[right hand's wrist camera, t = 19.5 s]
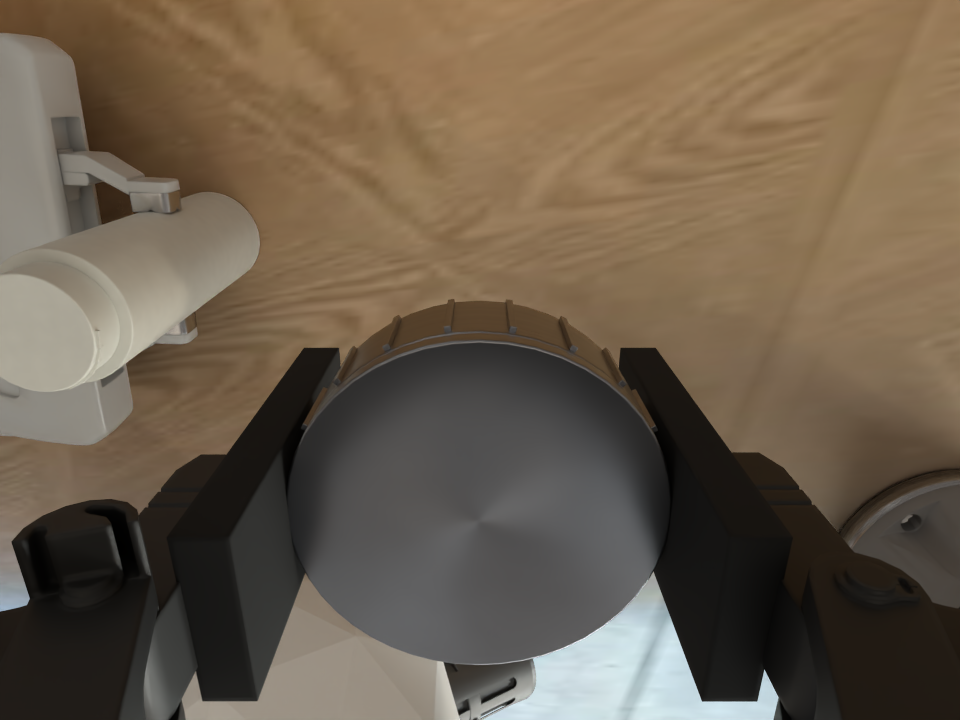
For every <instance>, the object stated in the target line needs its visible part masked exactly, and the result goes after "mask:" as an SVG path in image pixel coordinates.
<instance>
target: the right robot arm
mask: <svg viewBox="0 0 960 720" xmlns="http://www.w3.org/2000/svg"><path fill="white" fill-rule="evenodd" d="M340 368H341V366H340V354H339V348H304V349H303V350H302V351H301V353H300V354H299V356H298V357H297V358H296V360H295V361H294V362H293V364H292V365H291V367H290V368H289V369H288V371H287V372H286V373H285V375H284V376H283V378H282V379H281V380H280V382H279V383H278V385H277V386H276V387H275V389H274V390H273V391H272V393H271V394H270V396H269V397H268V398H267V400H266V401H265V402H264V404H263V405H262V407H261V408H260V409H259V411H258V412H257V413H256V415H255V416H254V418H253V419H252V420H251V422H250V423H249V424H248V426H247V427H246V429H245V430H244V431H243V433H242V434H241V435H240V437H239V438H238V440H237V441H236V442H235V444H234V445H233V446H232V448H231V449H230V451H229V452H228V453H227V455H200V456H198V457H197V458H195V459H193V460H192V461H190V462H189V463H187V464H185V465H184V466H182V467H181V468H179V469H177V470H176V471H175V472H174V474H173V475H172V476H171V477H170V478H169V480H168V481H167V482H166V483H165V484H164V486H163V487H162V488H161V492H158V493H157V494H156V495H155V496H154V498H153V499H152V500H151V501H150V502H149V506H148V508H144V510H143V511H142V512H141V513H140V514H139V516H138V512H137V509H135V508H134V507H133V506H132V505H130V504H129V503H128V502H123V501H118V500H113V499H105V500H89V501H85V502H81V503H77V504H73V505H69V506H65V507H63V508H60V509H58V510H56V511H53V512H51V513H48V514H46V515H44V516H42V517H40V518H39V519H37V520H36V521H34V522H32V523H31V524H29V525H28V526H26V527H25V528H23V530H22V531H21V532H20V533H19V534H18V535H17V536H16V537H15V538H14V540H13V541H12V545H13V548H14V551H15V554H16V557H17V560H18V563H19V566H20V569H21V572H22V575H23V578H24V582H25V585H26V588H27V591H28V594H29V597H30V600H29V602H28V604H27V605H26V606H23V607H19V608H15V609H11V610H6V611H1V612H0V720H186V718H185V712H184V707H183V703H182V697H183V695H184V693H185V691H186V690H187V688H188V686H189V684H190V682H191V680H192V678H193V676H194V674H195V672H196V675H197V679H198V684H199V688H200V693H201V697H202V701H258V699H259V696H260V693H261V691H262V688H263V685H264V683H265V680H266V677H267V675H268V672H269V669H270V666H271V664H272V661H273V658H274V656H275V653H276V650H277V648H278V645H279V642H280V640H281V637H282V634H283V632H284V629H285V626H286V624H287V621H288V618H289V616H290V613H291V610H292V608H293V605H294V602H295V599H296V597H297V594H298V591H299V589H300V586H301V583H302V581H303V578H304V575H305V571H304V569H303V567H302V566H301V564H300V562H299V560H298V557H297V554H296V552H295V549H294V546H293V543H292V537H291V530H290V523H289V515H288V507H287V498H286V492H287V483H288V475H289V471H290V468H291V464H292V461H293V457H294V454H295V451H296V449H297V447H298V445H299V443H300V440H301V438H302V436H303V434H304V432H305V430H302V429H301V427H302V425H303V423H304V421H305V419H306V418H307V416H308V414H309V412H310V410H311V409H312V407H313V405H314V403H315V401H316V400H317V398H318V396H319V394H320V392H321V391H322V389H323V387H325V388H327V389H328V387H329V385H330V384H331V382H332V380H333V379H334V377H335V376H336V374H337V373H338V371H339V369H340ZM619 370H620V372H621V374H622V376H623V377H624V379H625V380H626V382H627V384H628V385H629V387H630V389H631V391H632V390H634V389H636V391H637V393H638V395H639V396H640V398H641V400H642V402H643V404H644V405H645V407H646V409H647V411H648V413H649V414H650V416H651V418H652V420H653V422H654V423H655V425H656V427H657V430H658V431H657V432H654V434H655V436H656V438H657V441H658V443H659V445H660V448H661V450H662V452H663V455H664V457H665V461H666V465H667V469H668V473H669V476H670V485H671V495H672V505H671V517H670V525H669V530H668V535H667V539H666V543H665V546H664V548H663V551H662V554H661V556H660V559H659V562H658V564H657V565H656V567H655V569H654V574H655V576H656V579H657V582H658V584H659V587H660V590H661V593H662V595H663V598H664V601H665V603H666V606H667V609H668V611H669V614H670V617H671V619H672V622H673V625H674V627H675V630H676V633H677V635H678V638H679V641H680V643H681V646H682V649H683V651H684V654H685V657H686V660H687V662H688V665H689V668H690V670H691V673H692V676H693V678H694V681H695V684H696V686H697V689H698V692H699V694H700V697H701V700H702V701H757V700H758V695H759V691H760V686H761V682H762V677H763V673H764V669H765V671H766V673H767V675H768V677H769V679H770V681H771V683H772V685H773V687H774V689H775V691H776V693H777V695H778V697H779V699H778V703H777V707H776V711H775V716H774V720H960V470H946V471H939V472H933V473H929V474H925V475H921V476H918V477H915V478H912V479H909V480H907V481H904V482H902V483H900V484H898V485H895V486H893V487H891V488H890V489H888V490H886V491H884V492H883V493H881V494H880V495H878V496H876V497H875V498H873V499H872V500H871V501H870V502H868V503H867V504H866V505H865V506H863V507H862V508H861V509H860V510H859V511H858V512H857V513H856V514H855V515H854V516H853V517H852V518H851V519H850V520H849V522H848V523H847V524H846V525H845V527H844V528H843V529H842V531H841V532H840V534H839V533H838V532H837V531H836V530H835V529H834V527H833V526H832V525H831V524H830V523H829V522H828V520H827V519H826V518H825V517H824V516H823V514H822V513H821V512H820V511H819V510H818V508H817V507H816V506H815V505H812V503H811V502H812V501H811V500H810V499H809V498H808V496H807V495H806V494H805V493H804V492H803V491H802V490H799V486H798V485H797V483H796V482H795V481H794V480H793V479H792V477H791V476H790V475H789V474H788V473H787V471H786V470H785V469H784V468H783V467H781V466H780V465H778V464H776V463H775V462H773V461H772V460H770V459H768V458H767V457H765V456H764V455H762V454H760V453H731V451H730V450H729V448H728V447H727V446H726V444H725V443H724V442H723V440H722V439H721V437H720V436H719V435H718V433H717V432H716V431H715V429H714V428H713V426H712V425H711V424H710V422H709V421H708V420H707V418H706V417H705V415H704V414H703V413H702V411H701V410H700V409H699V407H698V406H697V404H696V403H695V402H694V400H693V399H692V397H691V396H690V395H689V393H688V392H687V391H686V389H685V388H684V386H683V385H682V384H681V382H680V381H679V380H678V378H677V377H676V375H675V374H674V373H673V371H672V370H671V369H670V367H669V366H668V364H667V363H666V362H665V360H664V359H663V358H662V356H661V355H660V353H659V352H658V351H657V349H656V348H621V349H620V361H619Z"/></svg>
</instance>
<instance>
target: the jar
mask: <svg viewBox="0 0 960 720" xmlns="http://www.w3.org/2000/svg"><path fill="white" fill-rule="evenodd" d="M181 208H182V209H181V210H176V211H175V212H173V213H155V212H153V211H149V212H143V213H141V212H139V213H136V214H133V215H130V216H127V217H124V218H121V219H118V220H115V221H112V222H109V223H106V224H103V225H100V226H97V227H94V228H91V229H88V230H85V231H82V232H79V233H76V234H73V235H70V236H67V237H64V238H61V239H58V240H55V241H52V242H49V243H46V244H43V245H40V246H37V247H34V248H31V249H28V250H25V251H22V252H20V253H17V254H15V255H13V256H11V257H10V258H8V259H7V260H5V261H4V262H3V263H2V264H1V265H0V377H1V378H3V379H4V380H6V381H8V382H10V383H12V384H14V385H16V386H19V387H22V388H25V389H29V390H33V391H40V392H51V391H54V392H55V391H60V390H66V389H69V390H70V389H72V388H74V387H76V386H78V385H80V384H83V383H87V382H93V381H97V380H100V379H103V378H105V377H107V376H109V375H110V374H112V373H114V372H115V371H116V370H118V369H119V368H120V367H121V366H123V365H124V364H125V363H127V362H128V361H129V360H131V359H132V358H133V357H135V356H136V355H137V354H139V353H140V352H141V351H143V350H144V349H145V348H147V347H148V346H149V345H151V344H152V343H153V342H155V341H156V340H157V339H159V338H160V337H161V336H163V335H164V334H165V333H167V332H168V331H169V330H171V329H172V328H173V327H175V326H176V325H177V324H179V323H180V322H181V321H183V320H184V319H185V318H187V317H188V316H189V315H191V314H192V313H193V312H195V311H196V310H197V309H199V308H200V307H201V306H203V305H204V304H205V303H206V302H208V301H209V300H210V299H212V298H213V297H214V296H216V295H217V294H218V293H220V292H221V291H222V290H224V289H225V288H226V287H228V286H229V285H230V284H232V283H233V282H234V281H236V280H237V279H238V278H240V277H241V276H242V275H244V274H245V273H246V272H248V271H249V270H250V269H251V267H252V266H253V265H254V263H255V261H256V259H257V257H258V254H259V249H260V237H259V232H258V229H257V226H256V224H255V222H254V220H253V218H252V216H251V215H250V213H249V212H248V211H247V210H246V209H245V208H244V207H243V206H242V205H241V204H240V203H238V202H237V201H236V200H234V199H232V198H231V197H228V196H226V195H223V194H220V193H215V192H200V193H196V194H193V195H190V196H187V197H184V198H181Z"/></svg>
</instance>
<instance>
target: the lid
mask: <svg viewBox="0 0 960 720" xmlns="http://www.w3.org/2000/svg"><path fill="white" fill-rule="evenodd" d="M301 429H302V430H305V432H304V434H303V436H302V438H301V440H300V443H299V445H298V447H297V449H296V451H295V454H294V457H293V461H292V464H291V468H290V471H289V475H288V483H287V492H286V498H287V507H288V515H289V523H290V530H291V537H292V543H293V546H294V549H295V552H296V554H297V557H298V560H299V562H300V564H301V566H302V567H303V569H304V571H305V573H306V575H307V577H308V579H309V580H310V581H311V583H312V584H313V585H314V587H315V588H316V590H317V591H318V592H319V594H320V595H321V596H322V597H323V598H324V600H325V601H326V602H327V603H328V604H329V605H330V606H331V607H332V608H333V609H334V610H335V611H336V612H337V613H338V614H339V615H341V616H342V617H343V618H344V619H346V620H347V621H348V622H349V623H350V624H352V625H353V626H354V627H356V628H358V629H359V630H361V631H362V632H364V633H365V634H367V635H368V636H370V637H372V638H374V639H376V640H378V641H380V642H382V643H384V644H386V645H388V646H390V647H392V648H395V649H397V650H400V651H403V652H405V653H408V654H411V655H414V656H418V657H422V658H426V659H430V660H434V661H440V662H447V663H453V664H468V665H490V664H504V663H511V662H518V661H524V660H528V659H532V658H536V657H540V656H544V655H547V654H550V653H552V652H555V651H558V650H561V649H563V648H566V647H568V646H570V645H572V644H574V643H576V642H578V641H580V640H582V639H584V638H586V637H588V636H589V635H591V634H593V633H594V632H596V631H597V630H599V629H600V628H602V627H604V626H605V625H606V624H607V623H609V622H610V621H611V620H612V619H614V618H615V617H616V616H617V615H618V614H620V613H621V612H622V611H623V610H624V609H625V608H626V607H627V606H628V605H629V604H630V603H631V602H632V601H633V599H634V598H635V597H636V596H637V595H638V593H639V592H640V591H641V589H642V588H643V587H644V585H645V584H646V583H647V581H648V580H649V578H650V576H651V574H652V573H653V571H654V569H655V567H656V565H657V564H658V562H659V559H660V556H661V554H662V551H663V548H664V546H665V543H666V539H667V535H668V530H669V525H670V517H671V505H672V495H671V485H670V476H669V473H668V469H667V465H666V461H665V457H664V455H663V452H662V450H661V448H660V445H659V443H658V441H657V438H656V436H655V434H654V432H657V431H658V430H657V427H656V425H655V423H654V422H653V420H652V418H651V416H650V414H649V413H648V411H647V409H646V407H645V405H644V404H643V402H642V400H641V398H640V396H639V395H638V393H637V391H636V389H634V390H632V391H631V389H630V387H629V385H628V384H627V382H626V380H625V379H624V377H623V376H622V374H621V372H620V370H619V368H618V366H617V365H616V363H615V361H614V359H613V357H612V355H611V353H610V351H609V350H608V349H607V348H604V349H603V350H602V349H601V348H600V347H598V346H597V345H596V344H595V343H594V342H593V341H592V340H590V339H589V338H588V337H587V336H586V335H584V334H583V333H581V332H580V331H578V330H577V329H575V328H574V327H572V326H571V325H569V324H568V322H567V319H566V318H564V317H562V316H561V317H560V319H557V318H555V317H553V316H551V315H549V314H546V313H543V312H540V311H537V310H534V309H531V308H528V307H524V306H519V305H514V304H513V301H512V300H506V303H503V302H489V301H470V302H455V301H454V299H451V300H448V303H447V304H444V305H439V306H434V307H431V308H427V309H424V310H421V311H418V312H415V313H412V314H410V315H408V316H405V317H403V318H400V316H399V315H398V316H396V317H394V318H393V321H392V323H391V324H389V325H388V326H386V327H385V328H383V329H381V330H380V331H378V332H377V333H375V334H374V335H372V336H371V337H370V338H369V339H368V340H366V341H365V342H364V343H363V344H362V345H361V346H359V347H358V348H356V347H355V346H353V347H352V348H351V349H350V351H349V353H348V354H347V356H346V358H345V360H344V362H343V364H342V366H341V368H340V369H339V371H338V373H337V374H336V376H335V377H334V379H333V380H332V382H331V384H330V385H329V387H328V389H327V388H325V387H323V389H322V391H321V392H320V394H319V396H318V398H317V400H316V401H315V403H314V405H313V407H312V409H311V410H310V412H309V414H308V416H307V418H306V419H305V421H304V423H303V425H302V427H301Z"/></svg>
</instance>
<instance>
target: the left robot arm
mask: <svg viewBox="0 0 960 720" xmlns="http://www.w3.org/2000/svg"><path fill="white" fill-rule="evenodd" d="M102 182H106V183H108V184H109V185H111V186H113V187H115V188H117V189H119V190H120V191H122V192H124V193H126V194H128V195H130V201H131V206H132V212H141V213H143V212H149V211H153V212H155V213H173V212H175V211H176V210H181V209H182V208H181V198H180V187H179V180H178V179H175V178H157V177H145V174H143V173H142V172H140V171H139V170H137V169H135V168H134V167H132V166H130V165H129V164H127V163H126V162H124V161H122V160H121V159H119V158H117V157H116V156H114V155H113V154H111V153H109V152H99V151H89V146H88V141H87V135H86V129H85V123H84V117H83V112H82V106H81V100H80V94H79V89H78V83H77V77H76V70H75V65H74V62H73V60H72V58H71V57H70V56H69V55H68V54H67V53H66V52H65V51H64V50H62V49H61V48H60V47H59V46H57V45H56V44H54V43H53V42H52V41H50V40H49V39H46V38H42V37H37V36H31V35H22V34H12V33H0V265H1V264H2V263H3V262H4V261H5V260H7V259H8V258H10V257H11V256H13V255H15V254H17V253H20V252H22V251H25V250H28V249H31V248H34V247H37V246H40V245H43V244H46V243H49V242H52V241H55V240H58V239H61V238H64V237H67V236H70V235H73V234H76V233H79V232H82V231H85V230H88V229H91V228H94V227H97V226H100V225H102V221H101V216H100V210H99V204H98V198H97V192H96V187H95V184H97V183H102ZM197 336H198V332H197V324H196V316H195V312H193V313H192V314H191V315H189V316H188V317H187V318H185V319H184V320H183V321H181V322H180V323H179V324H177V325H176V326H175V327H173V328H172V329H171V330H169V331H168V332H167V333H165V334H164V335H163V336H161V337H160V338H159V339H157V340H156V341H155V342H153V343H152V344H151V345H149V346H148V347H147V348H149V347H151V346H153V345H154V344H155V343H158V344H185V343H189V342H191V341H192V340H193V339H194V338H195V337H197ZM147 348H145V349H147ZM145 349H144V350H145ZM132 410H133V400H132V394H131V389H130V383H129V377H128V372H127V366H126V363H125V364H124V365H123V366H121V367H120V368H119V369H118V370H116V371H115V372H114V373H112V374H110V375H109V376H107V377H105V378H103V379H100V380H97V381H93V382H87V383H83V384H80V385H78V386H76V387H74V388H72V389H70V390H69V389H66V390H60V391H55V392H54V391H51V392H40V391H33V390H29V389H25V388H22V387H19V386H16V385H14V384H12V383H10V382H8V381H6V380H4V379H3V378H1V377H0V436H16V437H21V438H27V439H32V440H39V441H46V442H53V443H61V444H71V445H92V444H95V443H97V442H99V441H101V440H102V439H104V438H105V437H106V436H108V435H109V434H110V433H111V432H113V431H114V430H115V429H116V428H117V427H118V426H119V425H120V424H121V423H122V422H123V421H124V420H125V419H126V418H127V417H128V416H129V415H130V414H131V412H132Z"/></svg>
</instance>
